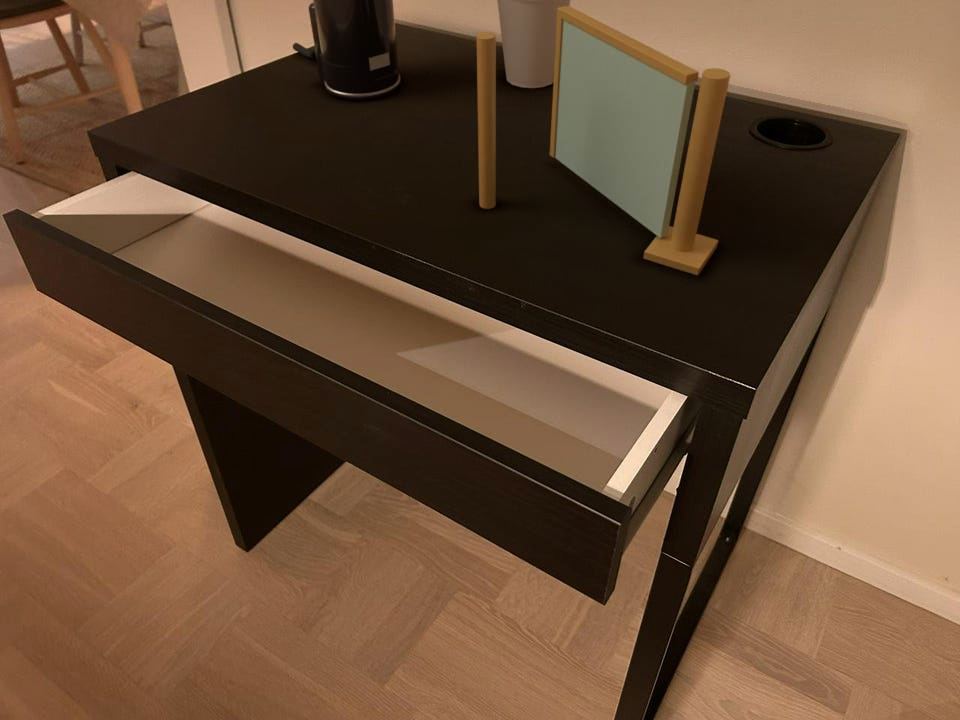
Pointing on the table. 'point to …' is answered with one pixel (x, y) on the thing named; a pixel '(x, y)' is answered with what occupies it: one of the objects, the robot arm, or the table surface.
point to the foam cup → (529, 40)
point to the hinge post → (694, 183)
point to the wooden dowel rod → (486, 118)
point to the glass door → (620, 116)
